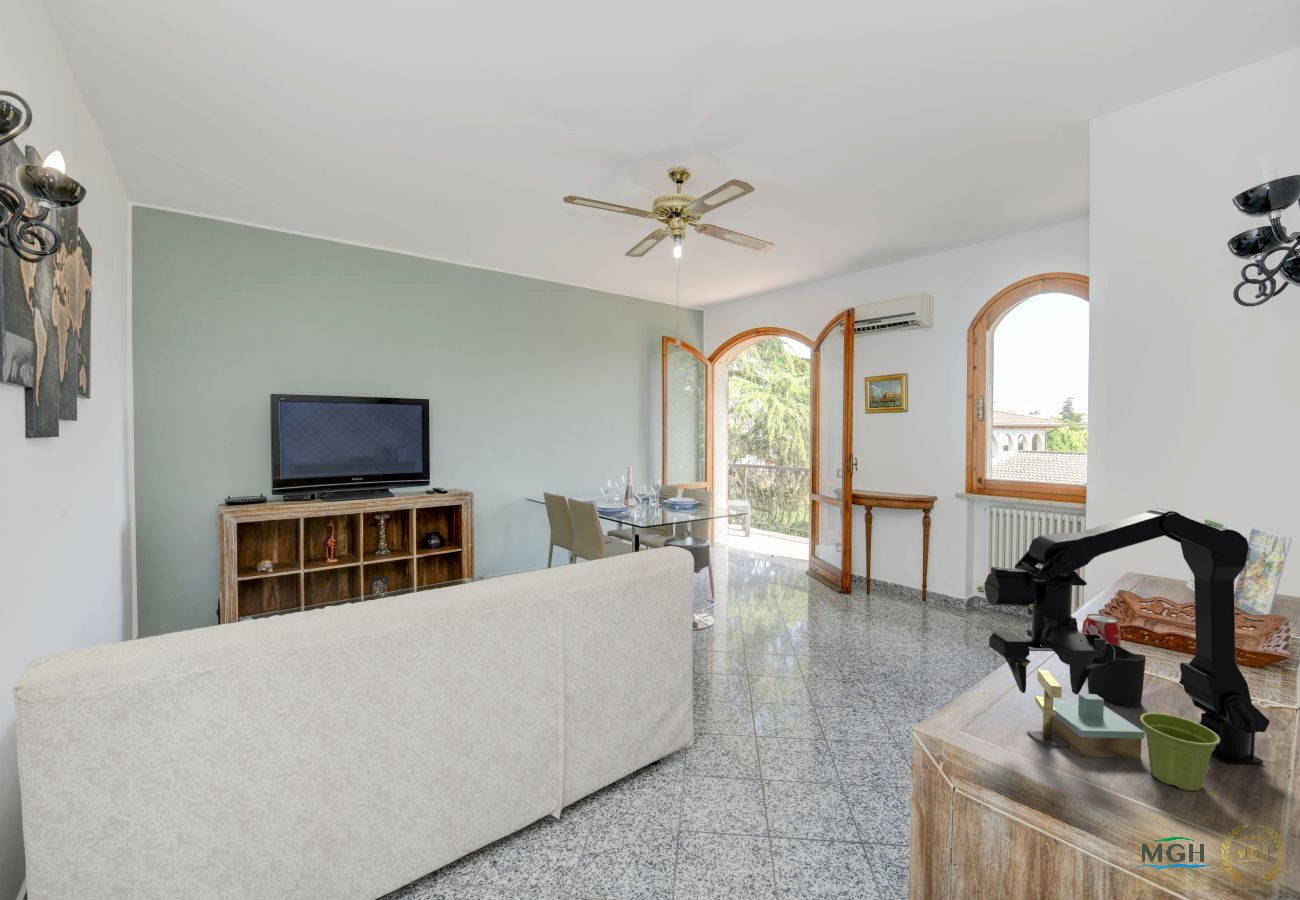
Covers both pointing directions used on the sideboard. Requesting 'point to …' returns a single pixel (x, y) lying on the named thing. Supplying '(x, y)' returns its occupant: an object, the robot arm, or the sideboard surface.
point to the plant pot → (1178, 749)
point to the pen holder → (1119, 679)
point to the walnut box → (1088, 743)
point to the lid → (1094, 719)
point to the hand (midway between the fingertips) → (1048, 692)
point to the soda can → (1103, 627)
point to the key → (1047, 700)
